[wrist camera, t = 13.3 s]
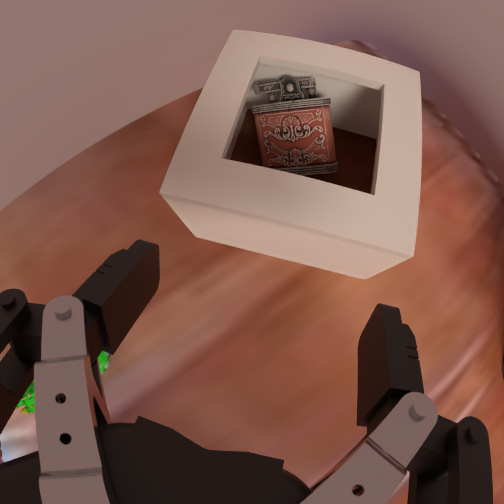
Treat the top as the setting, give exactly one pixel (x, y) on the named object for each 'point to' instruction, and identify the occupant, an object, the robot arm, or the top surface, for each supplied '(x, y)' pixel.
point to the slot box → (295, 186)
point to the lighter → (295, 128)
